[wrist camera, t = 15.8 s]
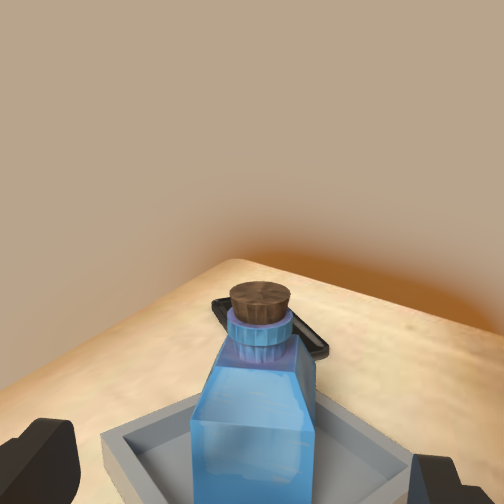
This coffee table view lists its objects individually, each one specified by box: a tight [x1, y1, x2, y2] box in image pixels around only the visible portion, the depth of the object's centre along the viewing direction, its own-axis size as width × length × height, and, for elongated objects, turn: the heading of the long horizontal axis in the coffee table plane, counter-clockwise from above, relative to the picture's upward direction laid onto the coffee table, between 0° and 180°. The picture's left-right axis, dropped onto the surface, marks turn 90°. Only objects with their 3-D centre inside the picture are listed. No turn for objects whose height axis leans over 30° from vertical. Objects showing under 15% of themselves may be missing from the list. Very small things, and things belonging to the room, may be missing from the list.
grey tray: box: [100, 390, 414, 504], centre depth 27 cm, size 14×14×2 cm
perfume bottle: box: [190, 281, 316, 504], centre depth 25 cm, size 6×6×12 cm
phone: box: [212, 297, 329, 361], centre depth 47 cm, size 8×1×15 cm
